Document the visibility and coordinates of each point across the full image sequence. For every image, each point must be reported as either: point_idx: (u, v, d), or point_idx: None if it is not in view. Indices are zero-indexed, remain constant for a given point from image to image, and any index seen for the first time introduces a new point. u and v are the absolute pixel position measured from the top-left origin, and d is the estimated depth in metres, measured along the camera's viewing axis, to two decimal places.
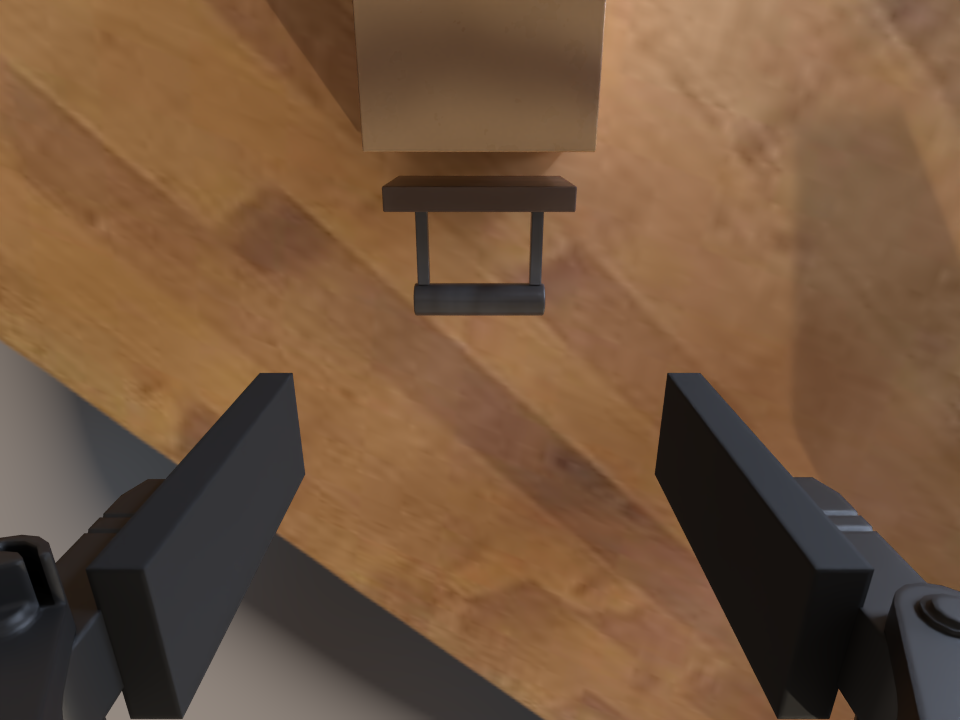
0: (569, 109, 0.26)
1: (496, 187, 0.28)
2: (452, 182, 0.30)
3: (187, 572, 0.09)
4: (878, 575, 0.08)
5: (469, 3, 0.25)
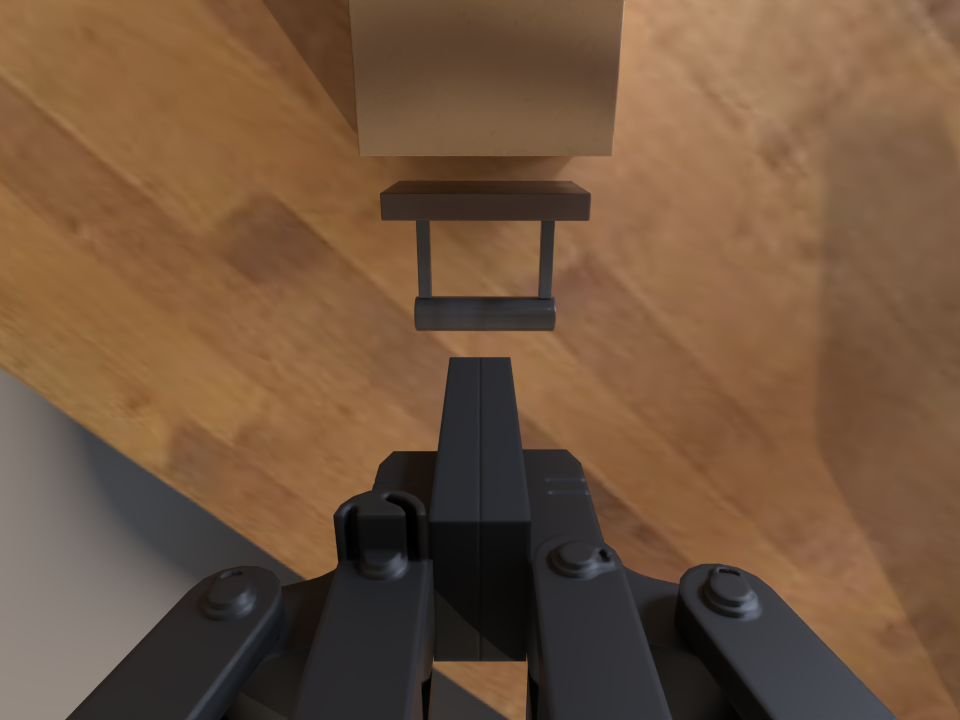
0: (584, 109, 0.24)
1: (504, 194, 0.26)
2: (456, 188, 0.28)
3: None
4: (563, 530, 0.09)
5: None
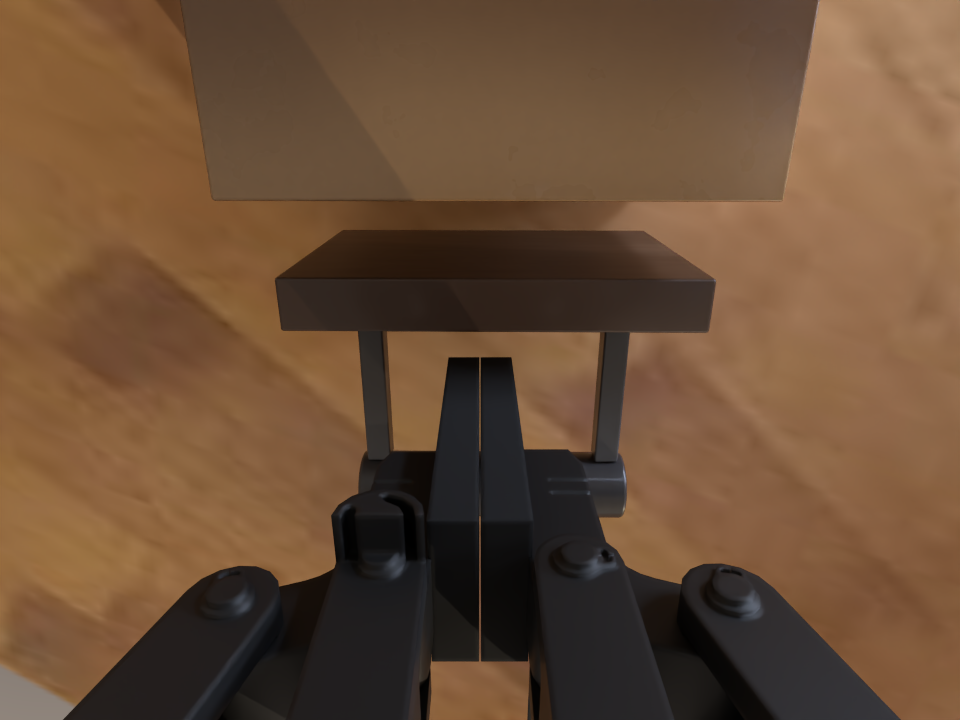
0: (728, 96, 0.10)
1: (533, 280, 0.13)
2: (437, 258, 0.14)
3: None
4: (564, 530, 0.09)
5: None
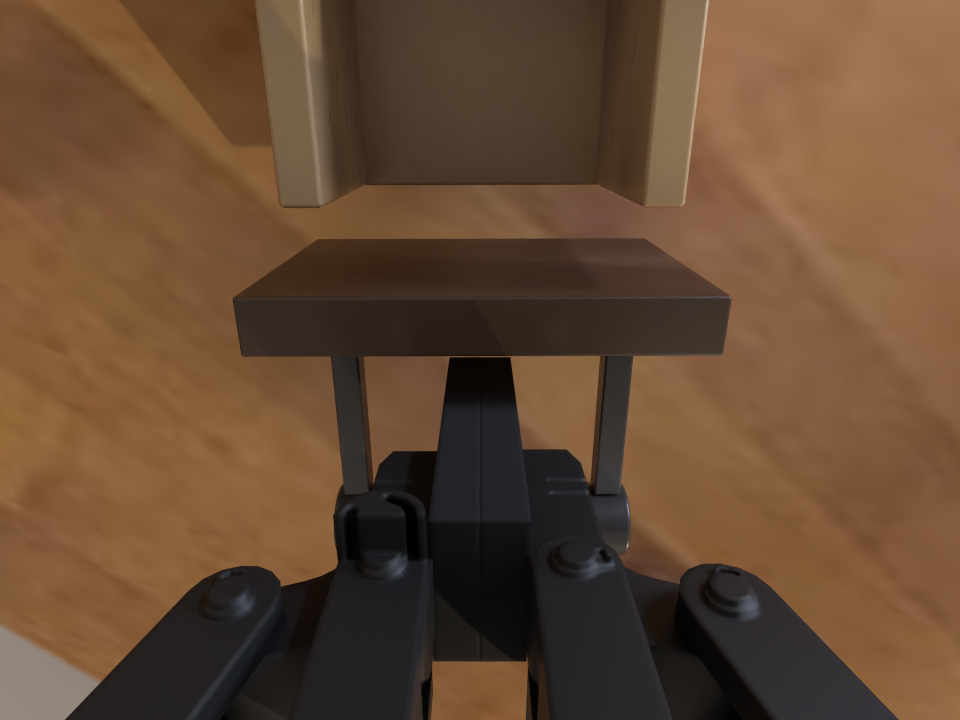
0: None
1: (525, 299, 0.11)
2: (418, 271, 0.13)
3: None
4: (563, 531, 0.09)
5: None
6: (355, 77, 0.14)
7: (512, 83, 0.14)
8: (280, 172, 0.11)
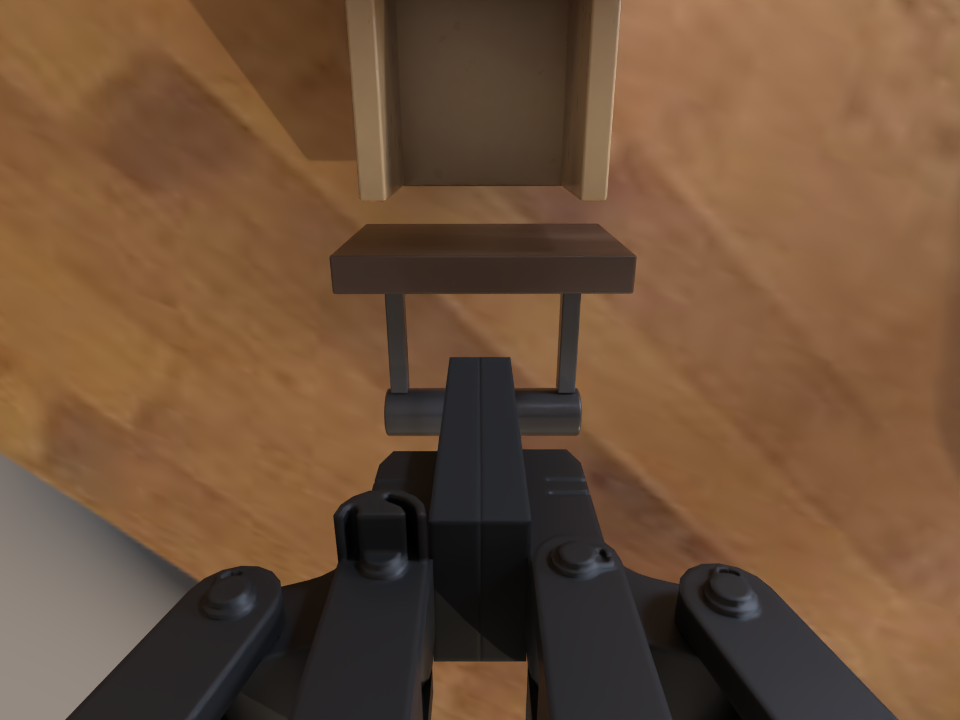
0: None
1: (510, 257, 0.18)
2: (441, 243, 0.20)
3: None
4: (563, 530, 0.09)
5: None
6: (399, 114, 0.21)
7: (503, 117, 0.21)
8: (361, 179, 0.18)
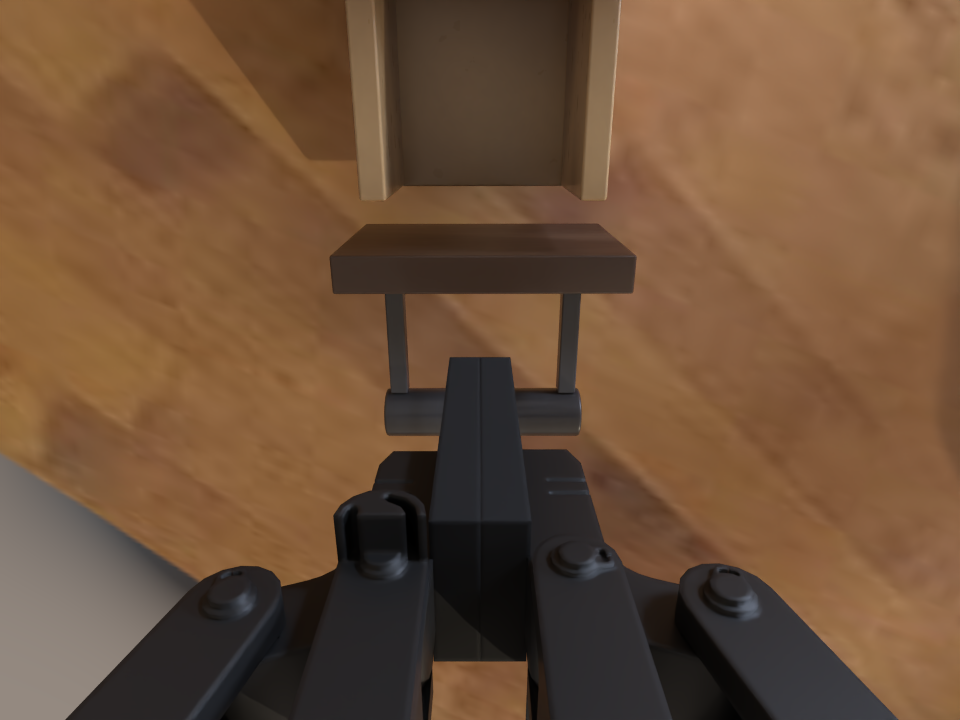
0: None
1: (510, 257, 0.18)
2: (441, 243, 0.20)
3: None
4: (563, 530, 0.09)
5: None
6: (399, 114, 0.21)
7: (503, 117, 0.21)
8: (361, 179, 0.18)
